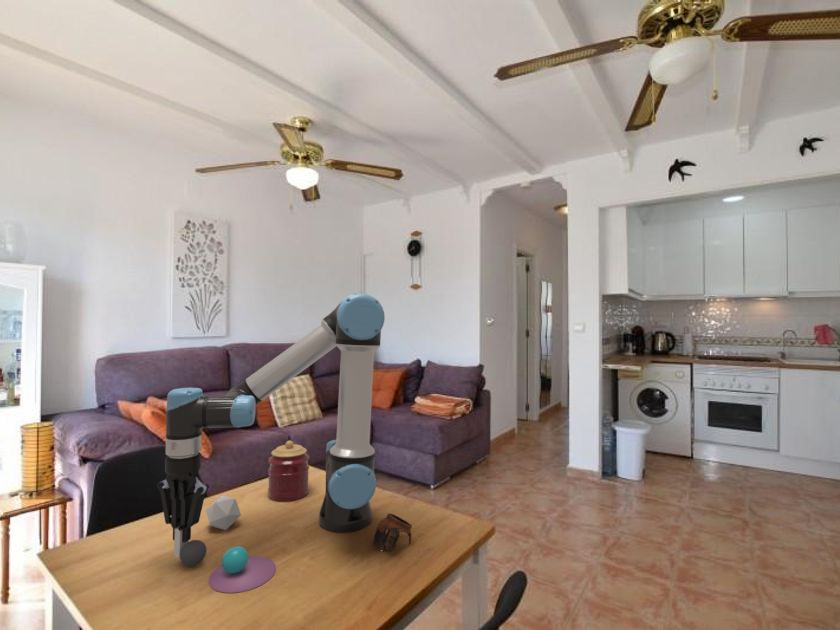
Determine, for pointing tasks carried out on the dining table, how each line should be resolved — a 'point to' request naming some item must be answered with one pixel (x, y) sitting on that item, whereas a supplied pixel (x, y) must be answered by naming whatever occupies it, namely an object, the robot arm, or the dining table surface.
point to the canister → (288, 472)
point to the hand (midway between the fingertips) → (181, 554)
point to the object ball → (234, 560)
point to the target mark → (243, 576)
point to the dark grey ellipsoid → (193, 553)
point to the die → (223, 512)
